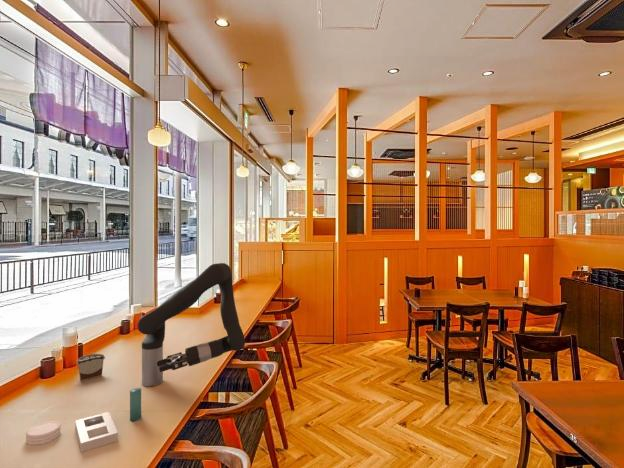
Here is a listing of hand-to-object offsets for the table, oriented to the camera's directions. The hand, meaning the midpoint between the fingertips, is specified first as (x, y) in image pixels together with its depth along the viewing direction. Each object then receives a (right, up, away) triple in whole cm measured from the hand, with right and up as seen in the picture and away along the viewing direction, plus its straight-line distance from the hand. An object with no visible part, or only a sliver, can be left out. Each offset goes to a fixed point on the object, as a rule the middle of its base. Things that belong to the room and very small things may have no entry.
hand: (158, 366), depth 154 cm
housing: (-15, -18, -18) cm, 30 cm away
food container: (-48, -17, +34) cm, 61 cm away
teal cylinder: (-6, -18, -6) cm, 20 cm away
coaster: (-32, -18, -20) cm, 42 cm away
